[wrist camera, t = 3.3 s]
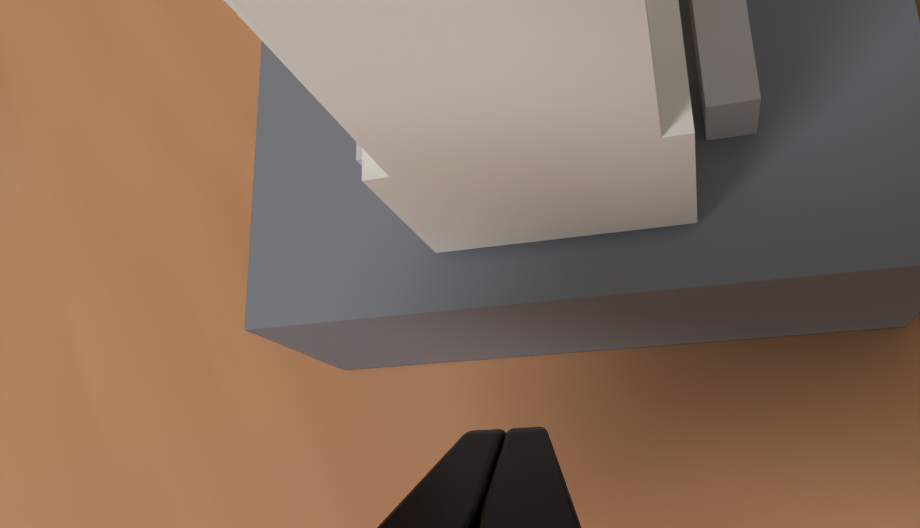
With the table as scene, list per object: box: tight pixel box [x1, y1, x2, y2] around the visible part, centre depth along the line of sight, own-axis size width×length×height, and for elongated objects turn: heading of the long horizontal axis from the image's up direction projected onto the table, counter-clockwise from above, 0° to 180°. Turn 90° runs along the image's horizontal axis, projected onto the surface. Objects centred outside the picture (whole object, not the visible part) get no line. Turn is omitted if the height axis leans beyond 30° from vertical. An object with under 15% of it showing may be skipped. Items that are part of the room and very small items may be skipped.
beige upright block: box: [224, 0, 697, 253], centre depth 10 cm, size 2×4×9 cm, turn 92°
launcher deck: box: [245, 0, 920, 370], centre depth 16 cm, size 8×12×6 cm, turn 92°
